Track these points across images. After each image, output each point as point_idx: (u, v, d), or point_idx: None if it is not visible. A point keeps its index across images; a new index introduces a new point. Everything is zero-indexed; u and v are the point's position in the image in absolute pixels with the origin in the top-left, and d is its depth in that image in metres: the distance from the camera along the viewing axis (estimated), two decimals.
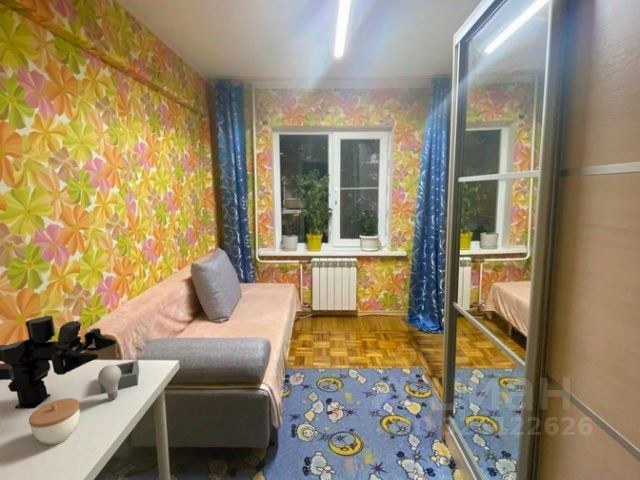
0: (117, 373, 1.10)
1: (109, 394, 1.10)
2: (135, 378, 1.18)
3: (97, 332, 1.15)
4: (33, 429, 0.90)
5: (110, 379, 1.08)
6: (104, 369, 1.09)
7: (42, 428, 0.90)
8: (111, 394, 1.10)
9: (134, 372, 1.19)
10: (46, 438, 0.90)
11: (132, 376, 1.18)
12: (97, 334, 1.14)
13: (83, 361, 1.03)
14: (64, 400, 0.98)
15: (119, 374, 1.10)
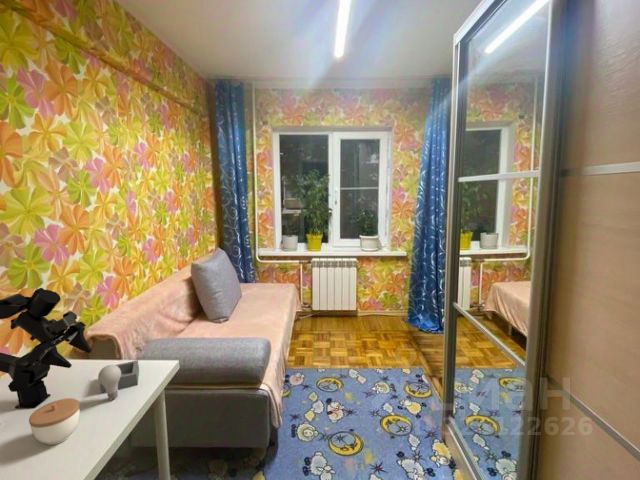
0: (117, 373, 1.10)
1: (109, 394, 1.10)
2: (135, 378, 1.18)
3: (82, 330, 1.15)
4: (33, 429, 0.90)
5: (110, 379, 1.08)
6: (104, 369, 1.09)
7: (42, 428, 0.90)
8: (111, 394, 1.10)
9: (134, 372, 1.19)
10: (46, 438, 0.90)
11: (132, 376, 1.18)
12: (81, 333, 1.14)
13: (56, 363, 1.04)
14: (64, 400, 0.98)
15: (119, 374, 1.10)
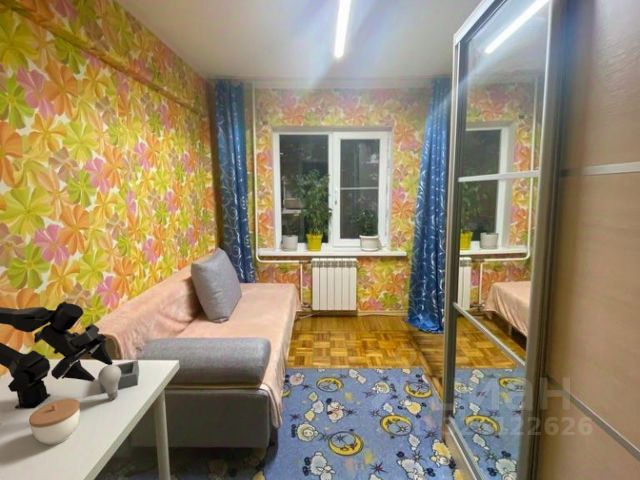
0: (117, 373, 1.10)
1: (109, 394, 1.10)
2: (135, 378, 1.18)
3: (103, 343, 1.16)
4: (34, 429, 0.90)
5: (110, 379, 1.08)
6: (104, 369, 1.09)
7: (42, 428, 0.90)
8: (111, 394, 1.10)
9: (134, 372, 1.19)
10: (46, 438, 0.90)
11: (132, 376, 1.18)
12: (102, 345, 1.15)
13: (79, 377, 1.04)
14: (64, 400, 0.98)
15: (119, 374, 1.10)
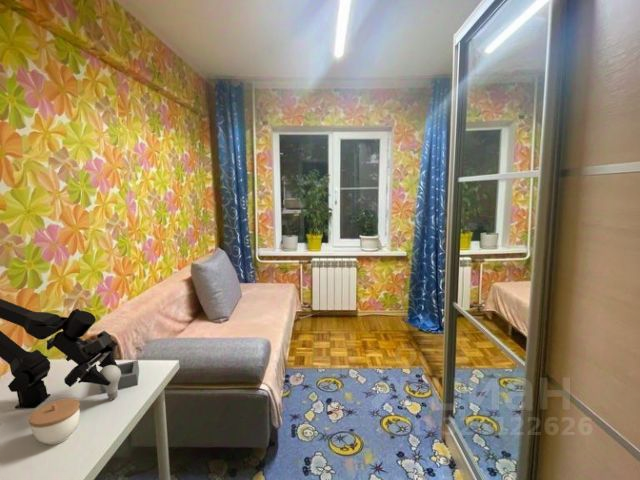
0: (117, 373, 1.09)
1: (109, 394, 1.10)
2: (135, 378, 1.18)
3: (112, 352, 1.14)
4: (34, 429, 0.90)
5: (110, 380, 1.08)
6: (104, 369, 1.09)
7: (42, 428, 0.90)
8: (111, 395, 1.10)
9: (134, 372, 1.19)
10: (46, 438, 0.90)
11: (132, 376, 1.18)
12: (111, 354, 1.14)
13: (95, 381, 1.06)
14: (64, 400, 0.98)
15: (119, 374, 1.10)
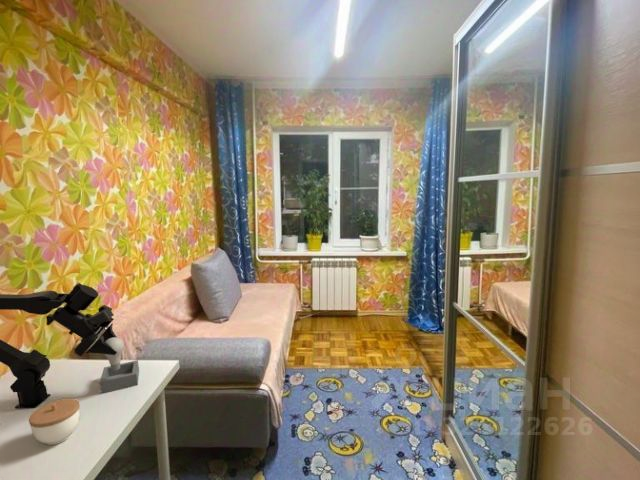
0: (122, 344, 1.15)
1: (113, 365, 1.14)
2: (135, 378, 1.18)
3: (111, 325, 1.19)
4: (33, 429, 0.90)
5: (116, 349, 1.13)
6: (109, 340, 1.13)
7: (42, 428, 0.90)
8: (115, 365, 1.15)
9: (134, 372, 1.19)
10: (46, 438, 0.90)
11: (132, 376, 1.18)
12: (111, 328, 1.18)
13: (102, 351, 1.11)
14: (64, 400, 0.98)
15: (123, 345, 1.16)
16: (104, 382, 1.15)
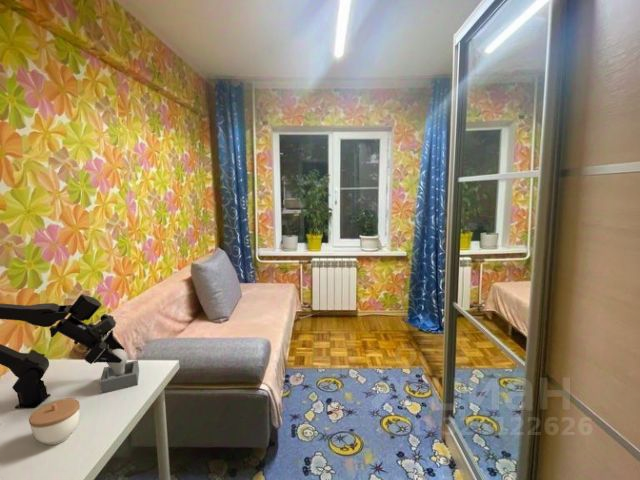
0: (126, 354, 1.20)
1: (118, 375, 1.19)
2: (135, 378, 1.18)
3: (112, 332, 1.24)
4: (33, 429, 0.90)
5: None
6: None
7: (42, 428, 0.90)
8: (120, 375, 1.19)
9: (134, 372, 1.19)
10: (46, 438, 0.90)
11: (132, 376, 1.18)
12: (112, 334, 1.24)
13: (108, 360, 1.14)
14: (64, 400, 0.98)
15: (127, 356, 1.21)
16: (104, 382, 1.15)
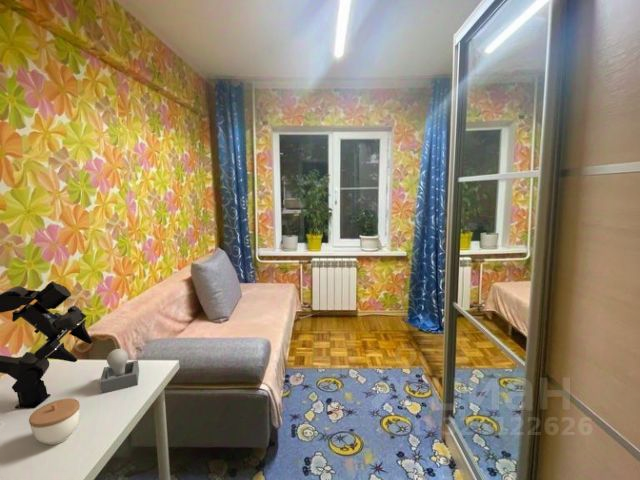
0: (126, 354, 1.20)
1: (118, 375, 1.19)
2: (135, 378, 1.18)
3: (84, 322, 1.18)
4: (33, 429, 0.90)
5: (122, 360, 1.18)
6: (114, 352, 1.18)
7: (42, 428, 0.90)
8: (120, 375, 1.19)
9: (134, 372, 1.19)
10: (46, 438, 0.90)
11: (132, 376, 1.18)
12: (83, 325, 1.18)
13: (62, 358, 1.08)
14: (64, 400, 0.98)
15: (127, 355, 1.21)
16: (104, 382, 1.15)
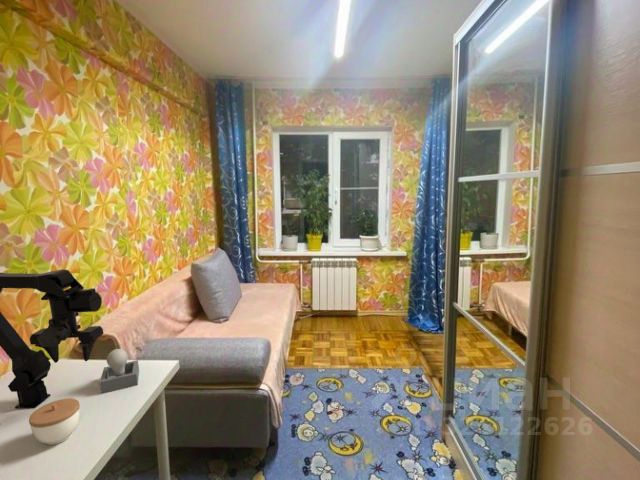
0: (126, 354, 1.20)
1: (118, 375, 1.19)
2: (135, 378, 1.18)
3: (83, 344, 1.06)
4: (33, 429, 0.90)
5: (121, 360, 1.18)
6: (113, 352, 1.18)
7: (42, 428, 0.90)
8: None
9: (134, 372, 1.19)
10: (46, 438, 0.90)
11: (132, 376, 1.18)
12: (82, 345, 1.06)
13: None
14: (64, 400, 0.98)
15: (127, 356, 1.21)
16: (104, 382, 1.15)
